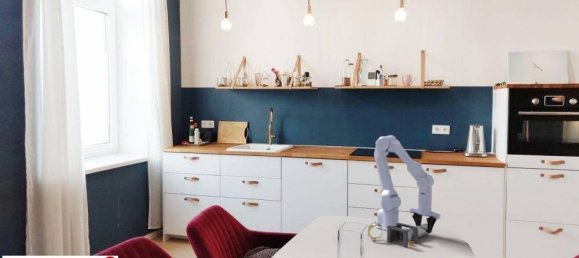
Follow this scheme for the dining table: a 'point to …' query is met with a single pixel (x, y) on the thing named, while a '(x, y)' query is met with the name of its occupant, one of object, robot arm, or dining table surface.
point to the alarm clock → (372, 227)
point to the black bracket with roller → (395, 234)
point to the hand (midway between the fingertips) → (424, 231)
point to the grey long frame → (421, 231)
